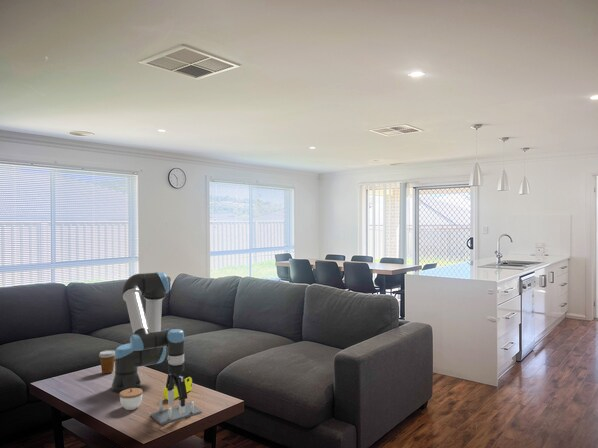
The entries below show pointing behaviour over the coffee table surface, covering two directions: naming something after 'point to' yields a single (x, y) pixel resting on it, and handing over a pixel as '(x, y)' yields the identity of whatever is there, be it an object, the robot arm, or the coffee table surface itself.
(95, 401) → the coffee table surface
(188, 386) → the yellow toy chassis
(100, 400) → the coffee table surface
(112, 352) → the disposable coffee cup
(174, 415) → the pin tray
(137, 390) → the lidded jar
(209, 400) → the coffee table surface
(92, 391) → the coffee table surface
